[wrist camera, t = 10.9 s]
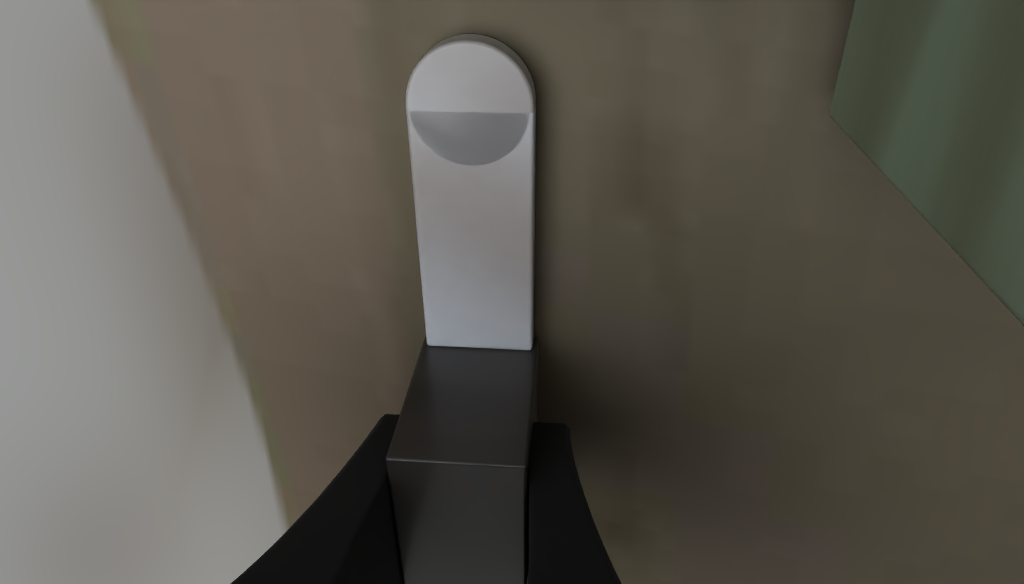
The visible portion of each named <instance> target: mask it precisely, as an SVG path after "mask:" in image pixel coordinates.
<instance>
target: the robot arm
mask: <svg viewBox="0 0 1024 584" xmlns="http://www.w3.org/2000/svg"><path fill="white" fill-rule="evenodd" d="M399 416H400V415H390V414H385V415H384V416H383V417H382V418H381V419H380V420H379V421H378V423H377V424H376V425H375V427H374V428H373V430H372V431H371V432H370V434H369V435H368V436H367V438H366V439H365V440H364V442H363V443H362V444H361V446H360V447H359V448H358V450H357V451H356V452H355V453H354V455H353V456H352V457H351V458H350V460H349V461H348V462H347V463H346V465H345V466H344V467H343V468H342V470H341V471H340V472H339V473H338V474H337V476H336V477H335V478H334V479H333V480H332V482H331V483H330V484H329V485H328V486H327V488H326V489H325V490H324V491H323V492H322V493H321V495H320V496H319V497H318V498H317V499H316V500H315V501H314V503H313V504H312V505H311V506H310V507H309V508H308V509H307V510H306V511H305V512H304V513H303V514H302V515H301V517H300V518H299V519H298V520H297V521H296V522H295V523H294V524H293V525H292V526H291V527H290V528H289V529H288V530H287V532H286V533H285V534H284V535H283V536H282V537H281V538H280V539H279V540H278V541H277V542H276V543H275V544H274V545H273V546H272V547H271V548H270V549H268V550H267V551H266V552H265V553H264V554H263V555H262V556H261V557H260V558H259V559H258V560H257V561H256V562H255V563H253V565H251V566H250V567H249V568H248V569H247V570H246V571H245V572H244V573H243V574H241V575H240V576H239V577H238V578H237V579H236V580H234V581H233V582H232V583H231V584H404V582H403V575H402V568H401V561H400V554H399V547H398V540H397V533H396V526H395V519H394V512H393V505H392V498H391V491H390V484H389V477H388V470H387V464H386V456H387V453H388V450H389V447H390V444H391V441H392V438H393V435H394V432H395V429H396V426H397V423H398V419H399ZM528 584H621V582H620V580H619V578H618V576H617V574H616V572H615V569H614V567H613V565H612V563H611V561H610V559H609V556H608V554H607V552H606V550H605V547H604V545H603V543H602V540H601V538H600V536H599V533H598V531H597V528H596V526H595V523H594V521H593V518H592V515H591V512H590V510H589V507H588V504H587V501H586V498H585V496H584V493H583V489H582V486H581V483H580V480H579V476H578V472H577V469H576V465H575V461H574V457H573V452H572V446H571V439H570V429H569V428H568V427H567V426H566V425H565V424H560V423H541V422H534V426H533V434H532V443H531V451H530V461H529V497H528Z"/></svg>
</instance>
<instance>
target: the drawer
mask: <svg viewBox="0 0 1024 584" xmlns="http://www.w3.org/2000/svg"><path fill="white" fill-rule="evenodd" d="M829 112H830V117H831V118H832V119H833V120H834V121H835V122H836V123H837V124H838V125H839V126H840V128H841V129H842V130H843V131H844V132H845V133H846V134H847V135H848V136H849V137H850V138H851V139H852V141H853V142H854V143H855V144H856V145H857V146H858V147H859V148H860V149H861V150H862V151H863V152H864V154H865V155H866V156H867V157H868V158H869V159H870V160H871V161H872V162H873V163H874V164H875V165H876V166H877V168H878V169H879V170H880V171H881V172H882V173H883V174H884V175H885V176H886V177H887V178H888V179H889V181H890V182H891V183H892V184H893V185H894V186H895V187H896V188H897V189H898V190H899V191H900V192H901V193H902V195H903V196H904V197H905V198H906V199H907V200H908V201H909V202H910V203H911V204H912V205H913V206H914V208H915V209H916V210H917V211H918V212H919V213H920V214H921V215H922V216H923V217H924V218H925V219H926V221H927V222H928V223H929V224H930V225H931V226H932V227H933V228H934V229H935V230H936V231H937V232H938V233H939V235H940V236H941V237H942V238H943V239H944V240H945V241H946V242H947V243H948V244H949V245H950V246H951V248H952V249H953V250H954V251H955V252H956V253H957V254H958V255H959V256H960V257H961V258H962V259H963V260H964V262H965V263H966V264H967V265H968V266H969V267H970V268H971V269H972V270H973V271H974V272H975V273H976V275H977V276H978V277H979V278H980V279H981V280H982V281H983V282H984V283H985V284H986V285H987V286H988V288H989V289H990V290H991V291H992V292H993V293H994V294H995V295H996V296H997V297H998V298H999V299H1000V300H1001V302H1002V303H1003V304H1004V305H1005V306H1006V307H1007V308H1008V309H1009V310H1010V311H1011V312H1012V313H1013V315H1014V316H1015V317H1016V318H1017V319H1018V320H1019V321H1020V322H1021V323H1022V324H1023V325H1024V0H856V1H855V5H854V9H853V13H852V18H851V22H850V26H849V30H848V35H847V39H846V43H845V47H844V52H843V56H842V60H841V64H840V69H839V73H838V77H837V81H836V86H835V90H834V94H833V98H832V103H831V107H830V111H829Z"/></svg>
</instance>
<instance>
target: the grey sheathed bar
mask: <svg viewBox="0 0 1024 584" xmlns="http://www.w3.org/2000/svg"><path fill="white" fill-rule="evenodd" d="M405 98H406V115H407V126H408V137H409V148H410V160H411V171H412V182H413V193H414V204H415V216H416V227H417V238H418V249H419V260H420V272H421V283H422V294H423V305H424V316H425V328H426V336H425V339H424V343H423V346H422V349H421V352H420V355H419V358H418V361H417V364H416V367H415V370H414V373H413V376H412V379H411V383H410V386H409V389H408V392H407V395H406V398H405V401H404V404H403V407H402V410H401V413H400V416H399V419H398V423H397V426H396V429H395V432H394V435H393V438H392V441H391V444H390V447H389V450H388V453H387V456H386V464H387V470H388V477H389V484H390V491H391V498H392V505H393V512H394V519H395V526H396V533H397V540H398V547H399V554H400V561H401V568H402V575H403V582H404V584H528V497H529V461H530V451H531V443H532V434H533V426H534V422H537V415H538V349H539V340H538V338H536V337H533V331H534V234H535V137H536V94H535V88H534V83H533V80H532V77H531V75H530V73H529V70H528V68H527V67H526V65H525V64H524V62H523V61H522V60H521V58H520V57H519V56H518V55H517V54H516V53H515V52H514V51H513V50H512V49H511V48H509V47H508V46H506V45H505V44H503V43H502V42H500V41H498V40H496V39H493V38H490V37H488V36H483V35H478V34H461V35H456V36H452V37H449V38H447V39H444V40H442V41H441V42H439V43H437V44H436V45H434V46H433V47H432V48H430V49H429V50H428V51H427V52H426V53H425V55H424V56H423V57H422V58H421V60H420V61H419V62H418V64H417V65H416V66H415V68H414V70H413V71H412V73H411V76H410V78H409V81H408V85H407V89H406V97H405Z"/></svg>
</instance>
